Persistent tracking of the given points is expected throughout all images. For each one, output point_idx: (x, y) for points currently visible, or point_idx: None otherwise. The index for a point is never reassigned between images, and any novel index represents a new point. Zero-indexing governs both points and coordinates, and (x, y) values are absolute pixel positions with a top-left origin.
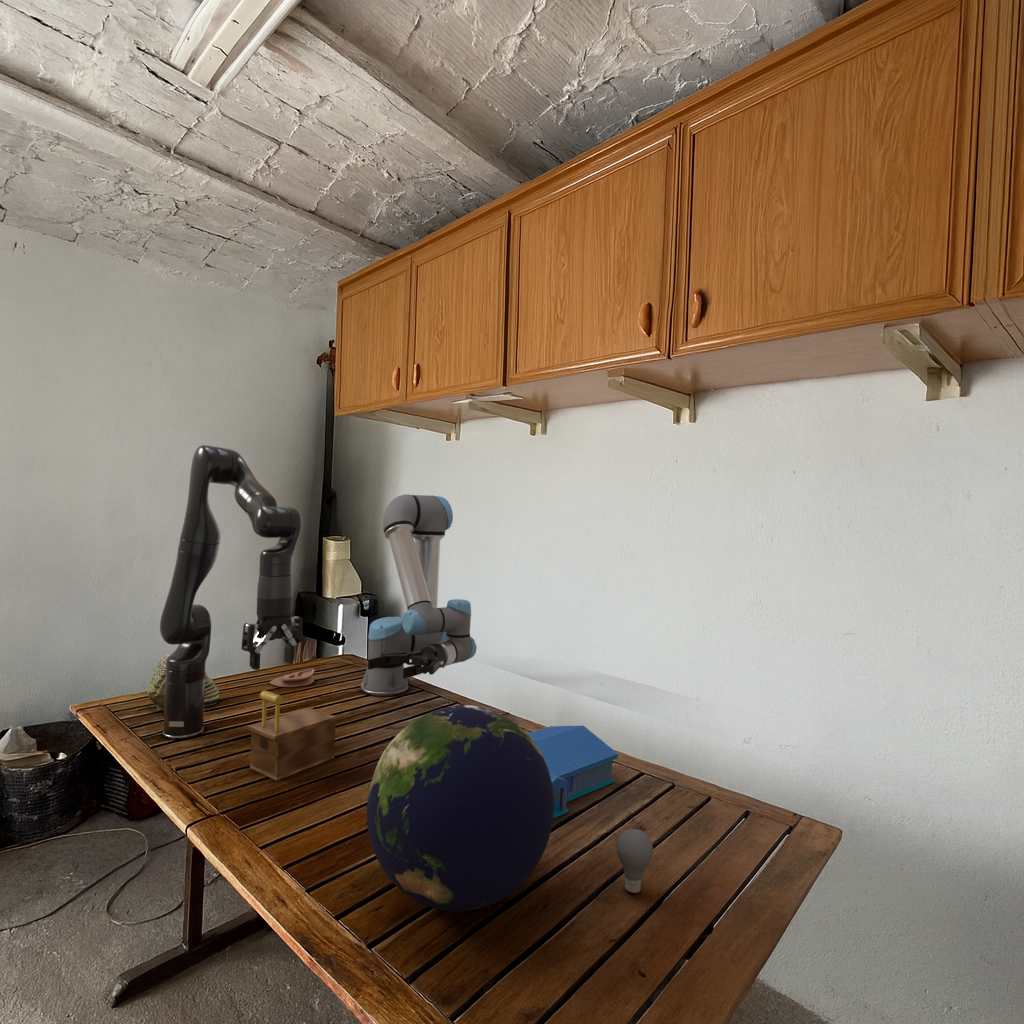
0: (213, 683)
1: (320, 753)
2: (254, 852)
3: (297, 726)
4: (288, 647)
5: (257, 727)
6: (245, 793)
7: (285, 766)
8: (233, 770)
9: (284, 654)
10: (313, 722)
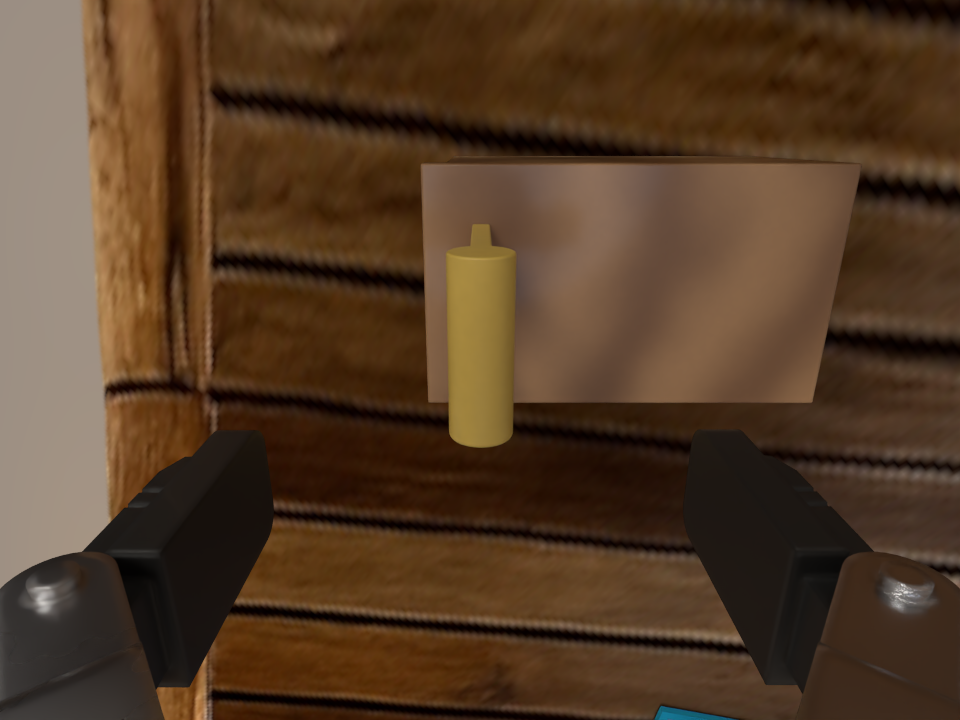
0: None
1: None
2: None
3: (587, 374)
4: (773, 627)
5: (440, 231)
6: (328, 335)
7: None
8: (397, 121)
9: (732, 466)
10: (677, 388)
